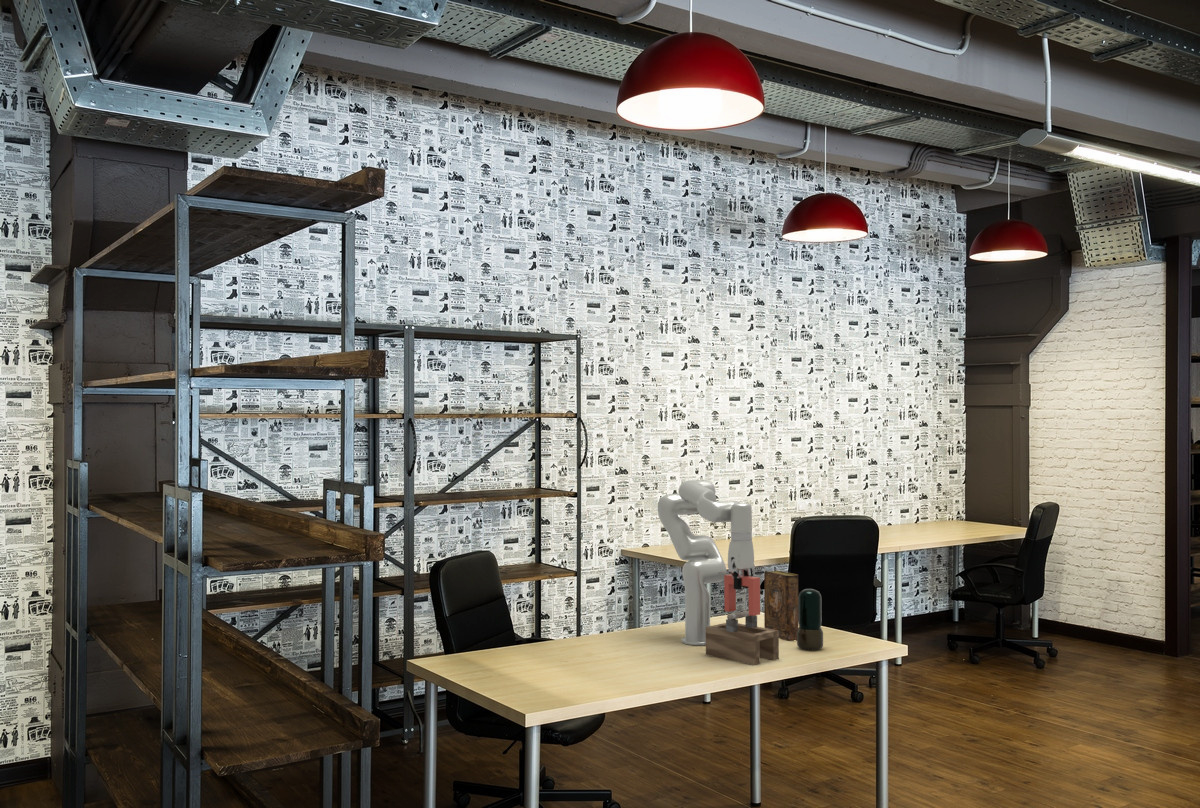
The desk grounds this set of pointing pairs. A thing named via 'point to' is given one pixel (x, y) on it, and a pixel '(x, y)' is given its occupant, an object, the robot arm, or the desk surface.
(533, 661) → the desk surface
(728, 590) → the red arch block
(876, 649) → the desk surface
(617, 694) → the desk surface
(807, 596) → the lamp
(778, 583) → the book
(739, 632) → the tan hollow frame
